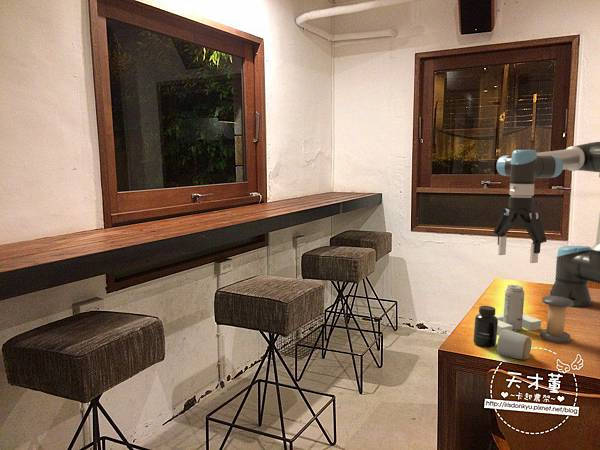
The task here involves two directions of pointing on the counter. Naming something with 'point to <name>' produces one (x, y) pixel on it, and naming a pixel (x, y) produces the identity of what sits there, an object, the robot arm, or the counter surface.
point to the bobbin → (556, 319)
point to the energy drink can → (514, 306)
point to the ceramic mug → (514, 344)
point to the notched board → (527, 323)
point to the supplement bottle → (485, 327)
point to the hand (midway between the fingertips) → (517, 258)
